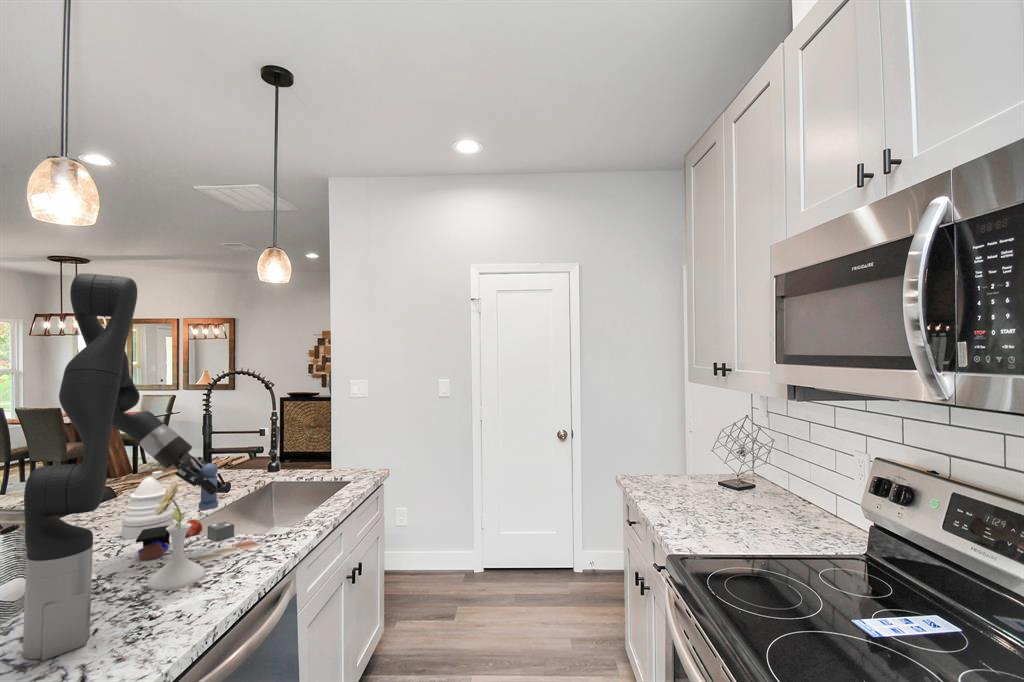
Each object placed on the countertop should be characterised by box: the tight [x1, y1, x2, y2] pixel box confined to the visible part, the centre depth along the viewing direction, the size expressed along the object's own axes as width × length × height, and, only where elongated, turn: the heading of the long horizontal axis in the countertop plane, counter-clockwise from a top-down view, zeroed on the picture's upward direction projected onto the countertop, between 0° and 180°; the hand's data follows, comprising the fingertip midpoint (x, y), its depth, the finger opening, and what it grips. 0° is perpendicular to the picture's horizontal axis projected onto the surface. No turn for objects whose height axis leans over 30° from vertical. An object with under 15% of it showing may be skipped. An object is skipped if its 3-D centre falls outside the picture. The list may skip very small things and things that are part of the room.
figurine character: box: [135, 525, 171, 562], centre depth 134 cm, size 7×8×15 cm
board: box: [191, 539, 261, 564], centre depth 134 cm, size 8×16×2 cm, turn 146°
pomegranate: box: [185, 519, 203, 539], centre depth 148 cm, size 6×6×8 cm
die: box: [206, 520, 235, 543], centre depth 144 cm, size 5×5×5 cm
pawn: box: [198, 462, 219, 511], centre depth 130 cm, size 4×4×12 cm
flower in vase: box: [147, 481, 207, 592], centre depth 116 cm, size 13×11×25 cm
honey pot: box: [121, 470, 174, 540], centre depth 154 cm, size 13×13×18 cm
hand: (217, 489), depth 131 cm, fingers closed on pawn, 3 cm apart
